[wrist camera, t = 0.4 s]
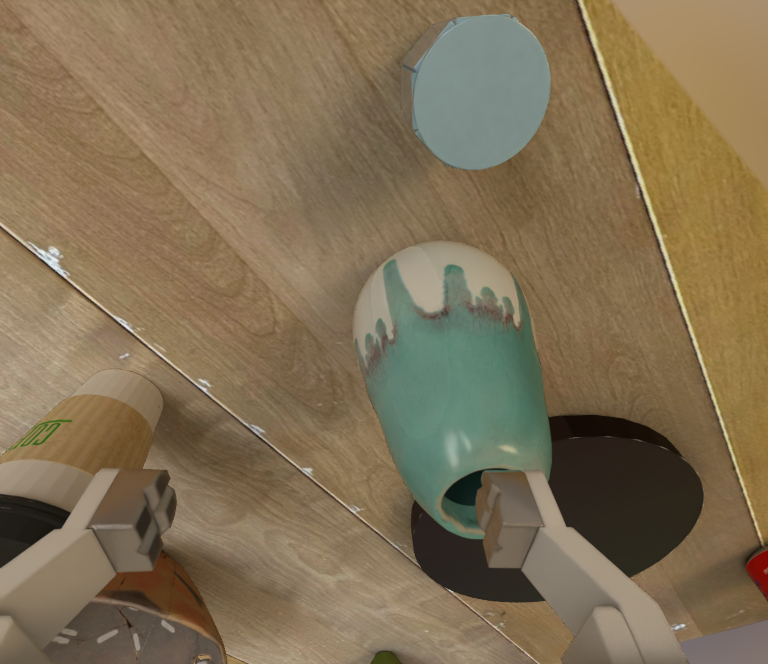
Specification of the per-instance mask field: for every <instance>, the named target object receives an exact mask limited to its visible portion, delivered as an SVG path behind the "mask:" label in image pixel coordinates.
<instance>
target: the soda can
mask: <svg viewBox="0 0 768 664" xmlns="http://www.w3.org/2000/svg"><path fill="white" fill-rule="evenodd" d="M746 571H747V573H748V575H749V576H750V578H751V579H752V580H753V582H754V583H755V585H756V586H757V587H758V589H759V590H760V592H761V593H762V594H763V596H764V597H765V598H766V600H767V601H768V545H767V546H765V547H762V548H760V549H759V550H757V551H756V552H755V553H753V555H752V556H751V557H750V559H749V561H748V562H747V564H746Z"/></svg>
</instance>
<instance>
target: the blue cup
mask: <svg viewBox="0 0 768 664" xmlns="http://www.w3.org/2000/svg"><path fill="white" fill-rule="evenodd" d="M402 64H403V65H404V66H400V84H401V109H402V110H403V113H404V115H405V117H406V119H407V121H408V123H409V124H410V126H411V128H412V130H413V132H414V134H415V135H416V136H417V137H418V138H419V139H420V140H421V141H422V142H423V143H424V144H425V145H426V146H427V147H428V149H429V150H430V151H431V152H432V153H433V154H434V155H435V156H436V157H437V158H439V159H440V160H441V161H442V162H443V163H444V164H445V165H446V166H447V167H448V166H449V165H450V166H451V168H452V169H455V168H459V169H464V170H482V169H487V168H491V167H494V166H497V165H499V164H502V163H503V162H505V161H507V160H509V159H510V158H512V157H513V156H515V155H516V154H517V153H518V152H519V151H521V150H522V149H523V148H524V147H525V146H526V144H527V143H528V142H529V141H530V140H531V139H532V137H533V136H534V134H535V133H536V131H537V129H538V128H539V126H540V124H541V122H542V120H543V117H544V115H545V112H546V109H547V106H548V101H549V96H550V85H551V82H550V70H549V64H548V60H547V57H546V54H545V52H544V50H543V47H542V45H541V44H540V42H539V41H538V39H537V38H536V36H535V35H534V34H533V33H532V32H531V31H530V30H529V29H528V28H527V27H525V26H524V25H523V24H521V23H520V22H519V21H518V19H517V18H516V17H515V16H514V17H510V14H497V15H481V16H469V17H457V18H453V19H450V20H446V21H443V22H439V23H436V24H433V25H432V26H430V27H428V28H427V29H426V30H425V32H424V33H423V34H422V35H421V37H420V38H419V39H418V41H417V42H416V43H415V45H414V46H413V47H412V48H411V50H410V51H409V52H408V54H407V55H406V56H405V58H404V59H403V60H402Z"/></svg>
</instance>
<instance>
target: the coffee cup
mask: <svg viewBox="0 0 768 664" xmlns="http://www.w3.org/2000/svg"><path fill="white" fill-rule="evenodd" d="M162 409H163V398H162V395H161V393H160V391H159V390H158V389H157V387H156V386H155V385H154V384H153V383H151V382H150V381H149V380H148V379H146V378H144V377H143V376H141V375H138V374H136V373H134V372H130V371H127V370H121V369H108V370H103V371H100V372H98V373H96V374H94V375H93V376H92V377H91V378H90V379H88V380H87V381H86V382H85V383H84V384H83V385H82V386H81V387H80V388H79V389H78V390H76V391H75V392H74V393H73V394H72V395H71V396H70V397H69V398H67V399H65V400H64V401H62V402H61V403H59V404H58V405H57V406H56V407H55V408H54V409H53V410H52V411H51V412H49V413H48V414H47V415H46V416H45V417H44V418H43V419H42V420H41V421H39V422H38V423H37V424H36V425H35V426H34V427H33V428H32V429H31V430H29V431H28V432H27V433H26V434H25V435H24V436H23V437H22V438H21V439H19V440H18V441H17V442H16V443H15V444H14V445H13V446H12V447H11V448H9V449H8V450H7V451H6V452H5V453H4V454H3V455H2V456H1V457H0V568H2V567H3V566H4V565H6V564H7V563H9V562H10V561H11V560H13V559H14V558H15V557H17V556H18V555H20V554H21V553H22V552H24V551H25V550H27V549H28V548H29V547H31V546H32V545H34V544H35V543H36V542H38V541H39V540H40V539H42V538H43V537H45V536H46V535H47V534H49V533H50V532H52V531H53V530H54V529H61V528H62V527H63V525H64V524H65V522H66V520H67V519H68V517H69V516H70V514H71V513H72V511H73V509H74V508H75V506H76V505H77V503H78V501H79V500H80V498H81V497H82V495H83V493H84V492H85V490H86V489H87V487H88V485H89V484H90V482H91V481H92V479H93V477H94V476H95V474H96V473H97V472H99V471H100V470H101V469H102V468H113V469H143V466H144V463H145V461H146V458H147V455H148V452H149V450H150V447H151V444H152V441H153V433H154V431H155V428H156V425H157V423H158V420H159V417H160V415H161V412H162Z"/></svg>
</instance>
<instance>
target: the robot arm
mask: <svg viewBox="0 0 768 664" xmlns="http://www.w3.org/2000/svg"><path fill="white" fill-rule="evenodd" d="M169 480H170V476H169V474H168V471H167V470H153V469H113V468H102V469H101V470H100V471H99V472H97V473H96V474H95V476H94V477H93V479H92V481H91V482H90V484H89V485H88V487H87V489H86V490H85V492H84V493H83V495H82V497H81V498H80V500H79V501H78V503H77V505H76V506H75V508H74V509H73V511H72V513H71V514H70V516H69V517H68V519H67V520H66V522H65V524H64V525H63V527H62V528H61V529H54V530H53V531H52V532H50V533H49V534H47V535H46V536H45V537H43V538H42V539H40V540H39V541H38V542H36V543H35V544H34V545H32V546H31V547H29V548H28V549H27V550H25V551H24V552H22V553H21V554H20V555H18V556H17V557H15V558H14V559H13V560H11V561H10V562H9V563H7V564H6V565H4V566H3V567H2V568H0V664H54V662H53V661H52V660H51V659H50V658H49V657H48V656H47V655H46V654H45V653H44V652H43V651H42V650H43V649H44V648H45V647H46V646H47V645H48V644H49V643H50V642H51V641H52V640H53V639H54V638H55V637H56V636H57V635H58V634H59V633H60V632H61V631H62V630H63V629H64V627H65V626H66V625H67V624H68V623H69V622H70V621H71V620H72V619H73V618H74V617H75V616H76V615H77V614H78V613H79V612H80V611H81V610H82V609H83V608H84V607H85V606H86V605H87V604H88V603H89V602H90V601H91V600H92V599H93V598H94V597H95V596H96V595H97V594H98V593H99V592H100V591H101V590H102V589H103V588H104V587H105V586H106V585H107V584H108V583H109V582H110V581H111V580H112V579H113V578H114V577H115V576H116V572H140V571H153V569H154V567H155V564H156V562H157V559H158V557H159V554H160V552H161V550H162V547H163V545H164V544H163V541H162V539H161V535H162V534H163V533H164V532H166V531H167V530H168V529H169V528H170V527H171V524H172V522H173V519H174V516H175V511H176V505H177V500H176V494H175V490H174V489H173V488H171V487H170V486H169V485H168V483H169ZM481 483H482V487H481V488H480V489H478V490H477V495H476V516H477V521H478V525H479V527H480V528H481V529H482V530H483V531H484V532H485V536H484V539H483V546H484V550H485V555H486V559H487V563H488V567H489V568H522V569H521V571H522V572H523V573H524V574H525V576H526V577H527V578H528V579H529V581H530V582H531V583H532V584H533V586H534V587H535V588H536V589H537V591H538V592H539V593H540V594H541V596H542V597H543V598H544V599H545V600H546V602H547V603H548V604H549V605H550V607H551V608H552V609H553V610H554V612H555V613H556V614H557V615H558V617H559V618H560V619H561V620H562V622H563V623H564V624H565V625H566V627H567V628H568V629H569V630H570V632H571V633H572V634H573V635H574V637H575V638H574V639H573V641H572V642H571V644H570V645H569V647H568V648H567V650H566V651H565V653H564V654H563V656H562V658H561V660H562V663H563V664H689V662H688V660H687V658H686V656H685V654H684V652H683V650H682V649H681V647H680V645H679V643H678V641H677V639H676V637H675V635H674V633H673V631H672V629H671V627H670V625H669V624H668V622H667V620H666V618H665V616H664V614H663V612H662V610H661V608H660V606H659V604H658V603H656V602H655V601H654V600H653V599H652V598H651V597H650V596H649V595H648V594H646V593H645V592H644V591H643V590H642V589H641V588H640V587H639V586H637V585H636V584H635V583H634V582H633V581H632V580H631V579H630V578H628V577H627V576H626V575H625V574H624V573H623V572H622V571H621V570H620V569H618V568H617V567H616V566H615V565H614V564H613V563H612V562H611V561H609V560H608V559H607V558H606V557H605V556H604V555H603V554H602V553H600V552H599V551H598V550H597V549H596V548H595V547H594V546H593V545H592V544H590V543H589V542H588V541H587V540H586V539H585V538H584V537H583V536H581V535H580V534H579V533H578V532H577V531H576V530H575V529H574V528H572V527H566V524H565V522H564V520H563V517H562V515H561V513H560V510H559V508H558V506H557V503H556V501H555V499H554V496H553V494H552V492H551V489H550V487H549V484H548V482H547V480H546V477H545V475H544V473H543V472H542V471H539V470H524V471H521V470H485V471H484V472H483V473H482V476H481Z"/></svg>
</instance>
